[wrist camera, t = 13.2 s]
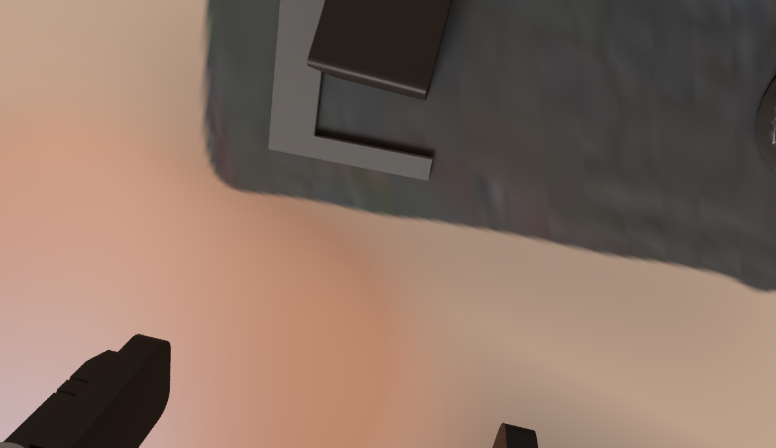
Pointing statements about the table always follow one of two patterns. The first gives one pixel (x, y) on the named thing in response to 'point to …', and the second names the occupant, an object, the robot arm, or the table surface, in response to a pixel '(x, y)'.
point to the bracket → (301, 103)
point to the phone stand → (380, 42)
